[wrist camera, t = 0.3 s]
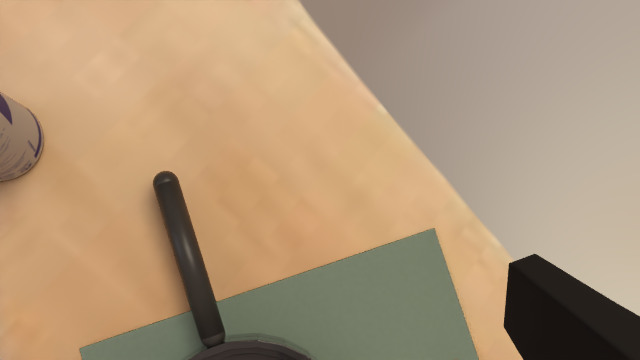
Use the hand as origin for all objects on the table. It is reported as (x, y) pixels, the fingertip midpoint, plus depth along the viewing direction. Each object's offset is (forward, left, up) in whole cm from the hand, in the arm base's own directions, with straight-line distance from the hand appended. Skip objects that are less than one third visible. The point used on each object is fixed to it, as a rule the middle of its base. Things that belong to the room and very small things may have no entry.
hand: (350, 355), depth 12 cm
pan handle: (+3, +5, -27) cm, 28 cm away
